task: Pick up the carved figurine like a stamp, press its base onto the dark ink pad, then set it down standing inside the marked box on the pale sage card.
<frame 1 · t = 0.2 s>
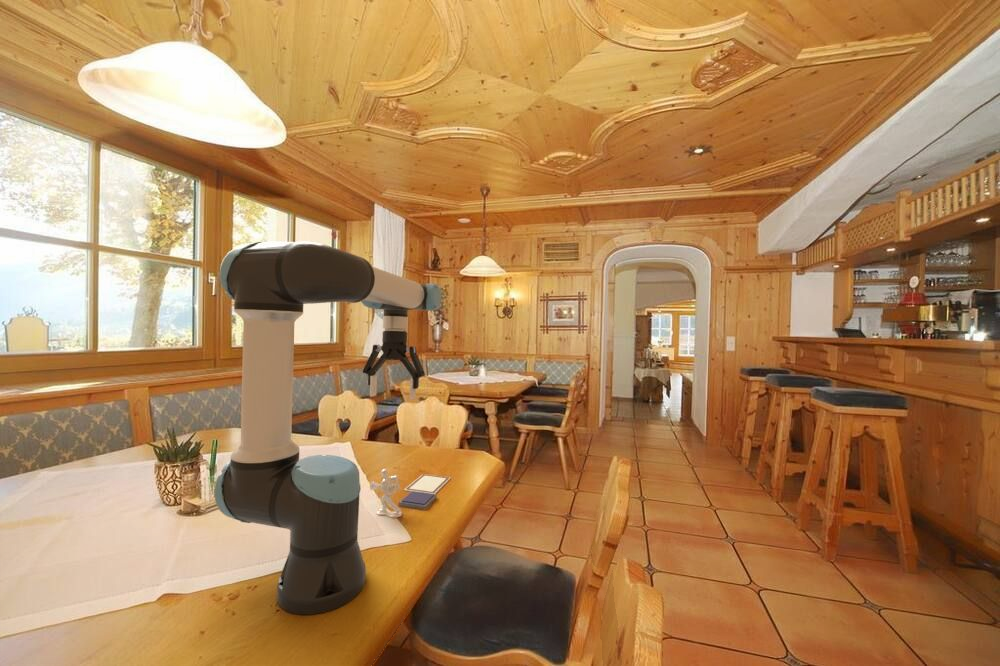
hand: (392, 397, 124), 27 cm above the table, fingers open, 13 cm apart
print sheet: (428, 484, 126), on the table
figurine: (385, 514, 104), on the table
ink pad: (418, 501, 112), on the table
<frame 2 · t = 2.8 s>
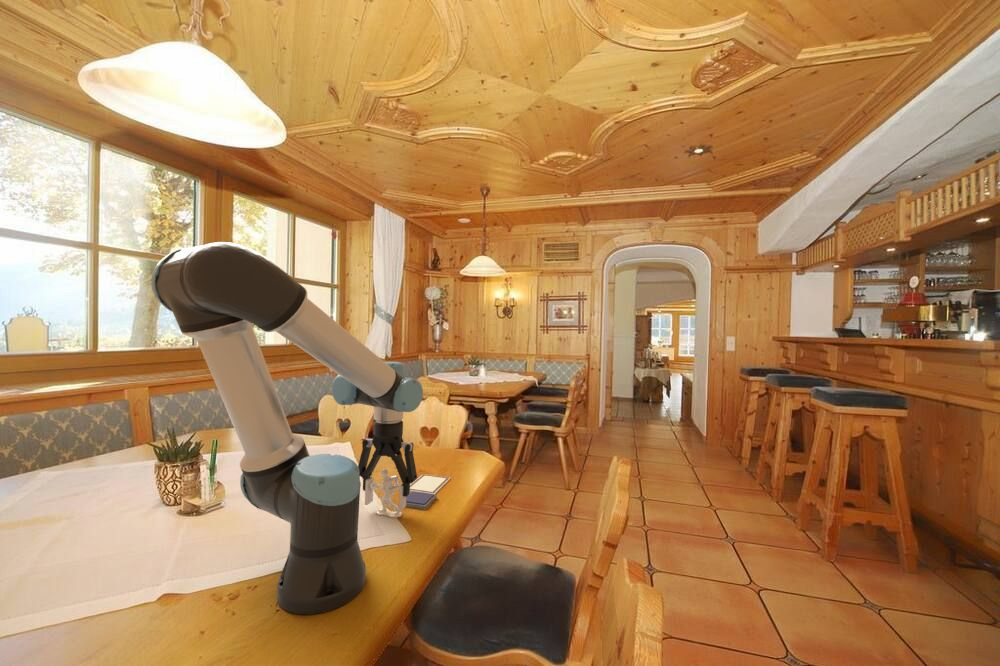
hand: (385, 505, 104), 2 cm above the table, fingers closed on figurine, 9 cm apart
figurine: (385, 514, 104), on the table, touching gripper
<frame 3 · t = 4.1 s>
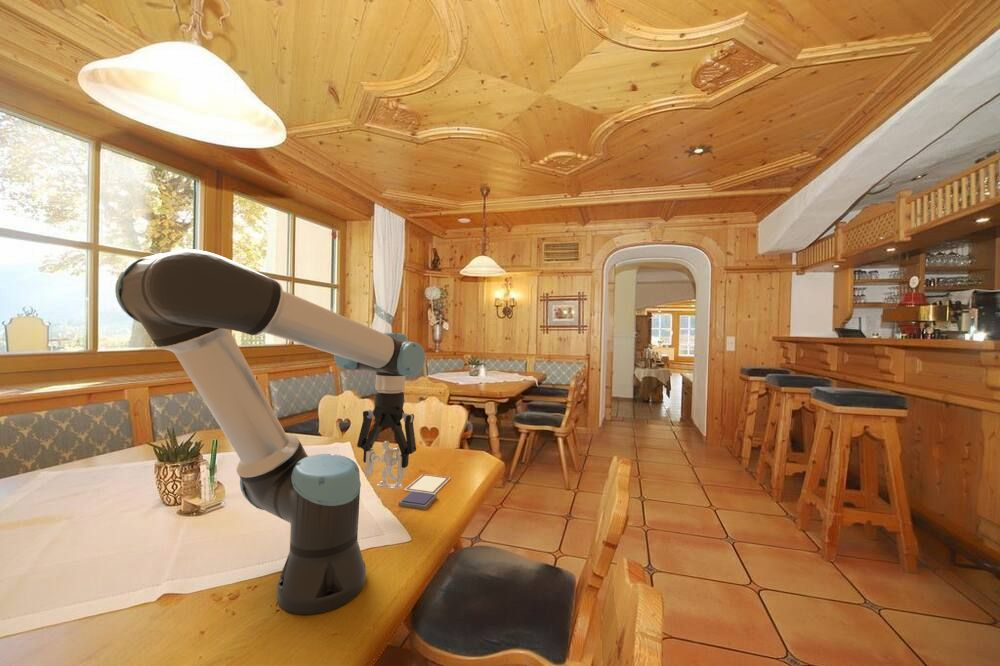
hand: (384, 477, 104), 10 cm above the table, fingers closed on figurine, 8 cm apart
figurine: (385, 487, 104), point 7 cm above the table, touching gripper
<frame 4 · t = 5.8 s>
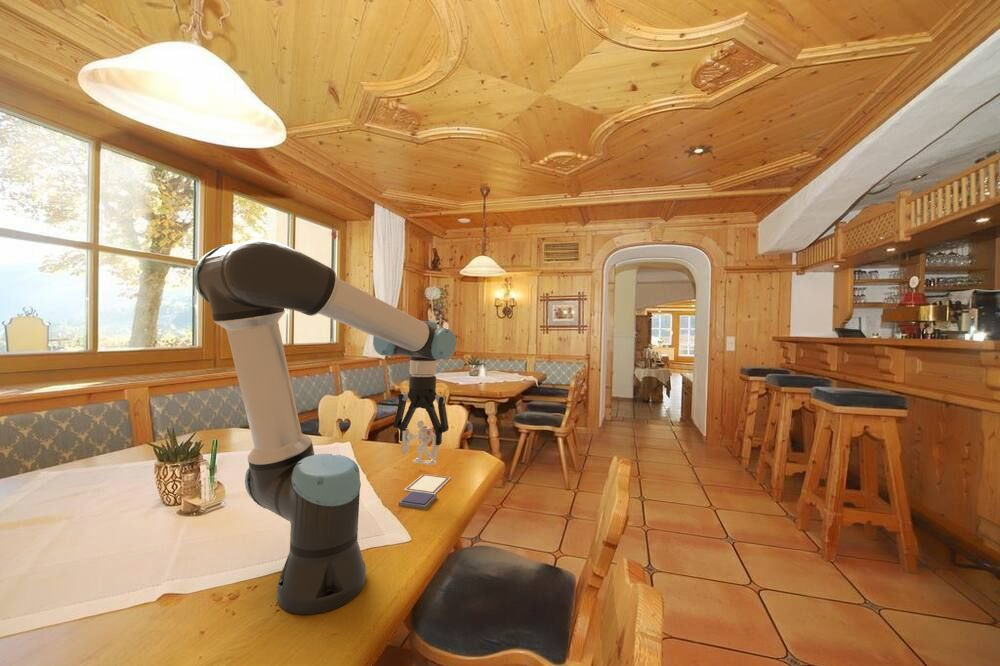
hand: (420, 454, 112), 14 cm above the table, fingers closed on figurine, 8 cm apart
figurine: (420, 463, 112), point 11 cm above the table, touching gripper
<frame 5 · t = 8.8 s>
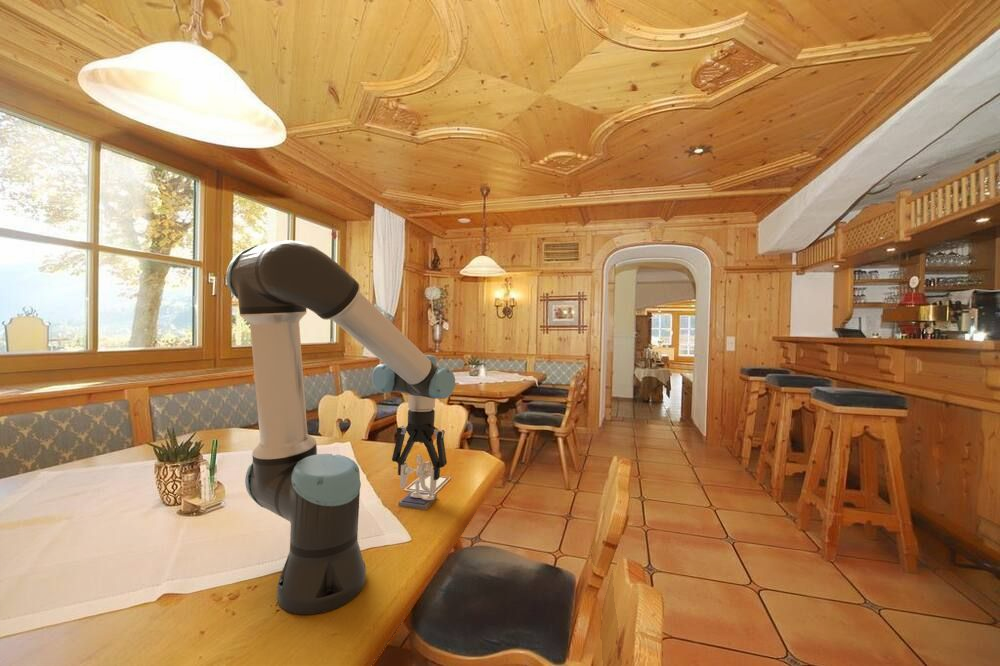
hand: (418, 488, 112), 4 cm above the table, fingers closed on figurine, 8 cm apart
figurine: (418, 497, 112), point 1 cm above the table, touching gripper
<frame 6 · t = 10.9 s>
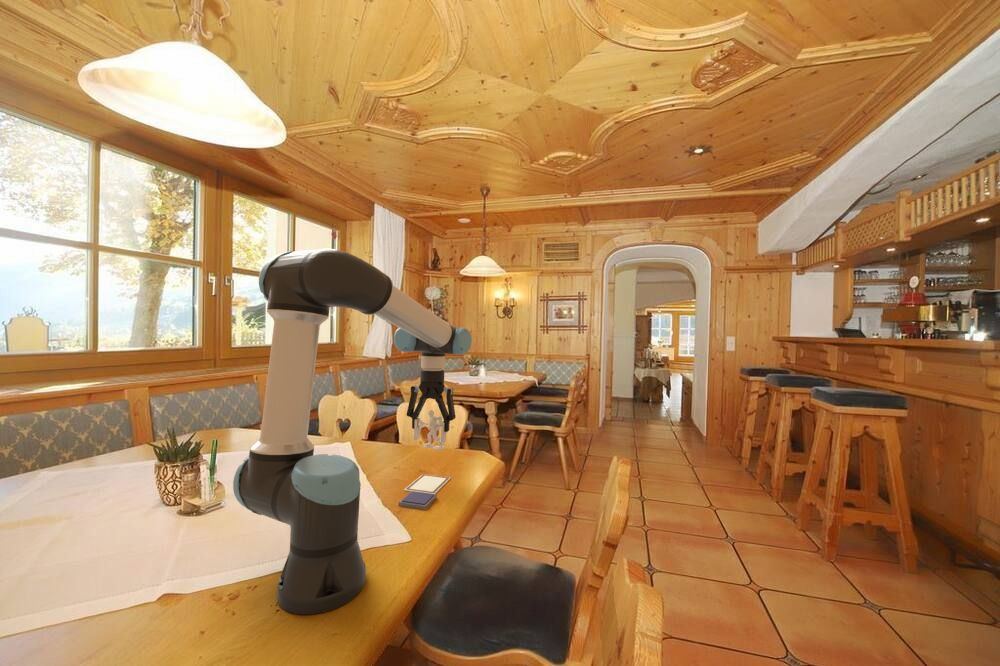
hand: (430, 440, 126), 14 cm above the table, fingers closed on figurine, 8 cm apart
figurine: (430, 448, 126), point 11 cm above the table, touching gripper
when the fingers open (3 cm above the table, at t = 13.1 s): figurine stays where it is, resting on print sheet.
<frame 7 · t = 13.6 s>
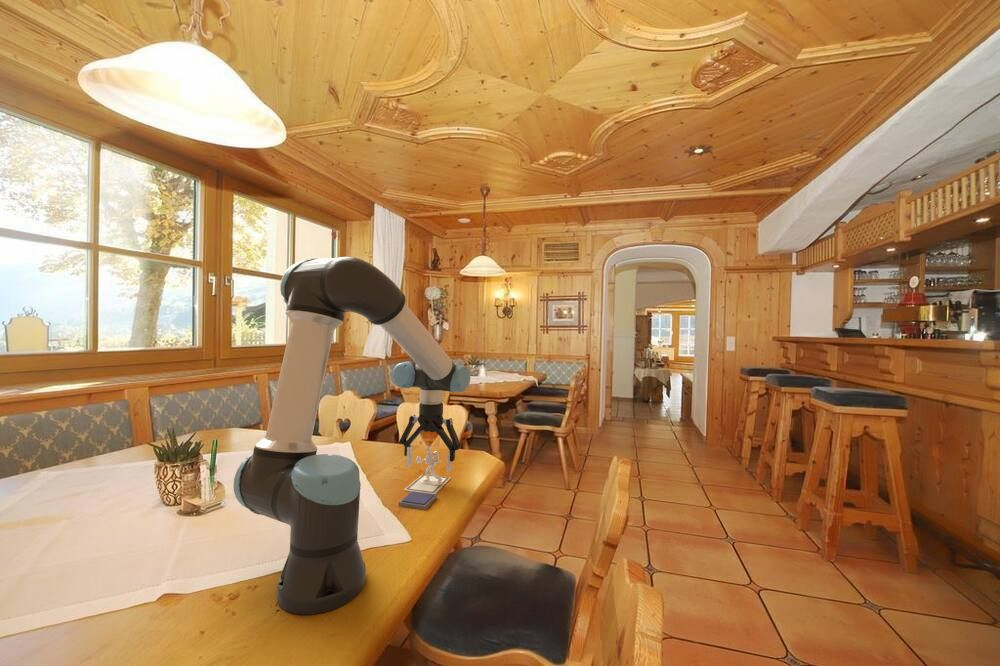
hand: (428, 468, 126), 5 cm above the table, fingers open, 13 cm apart
figurine: (428, 483, 126), resting on print sheet
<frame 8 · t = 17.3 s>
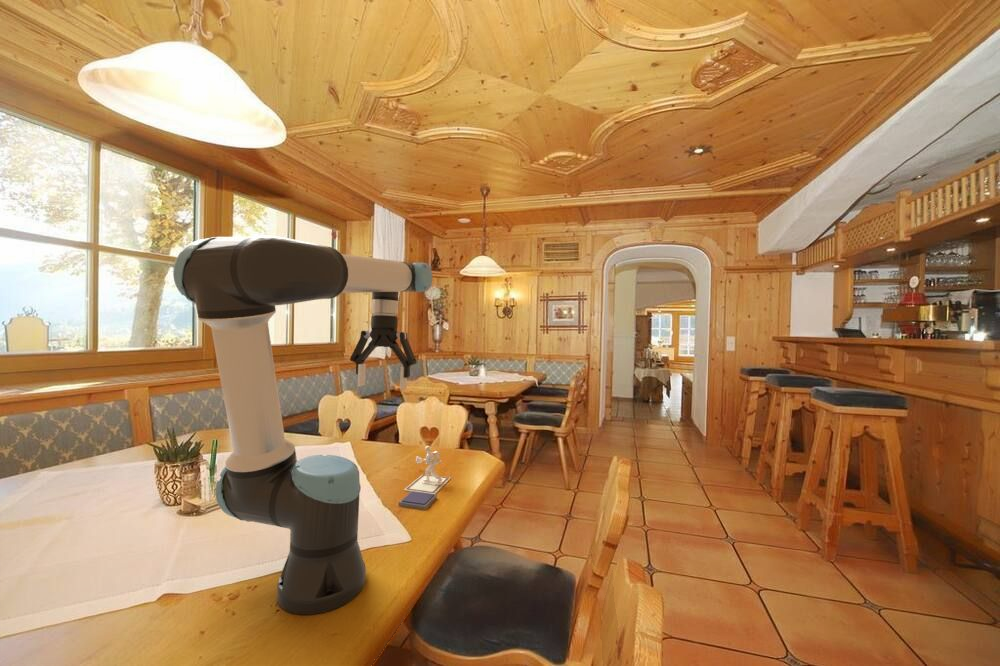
hand: (381, 387, 116), 32 cm above the table, fingers open, 13 cm apart
nothing on the table moved.
at the end: figurine inside the target area on the print sheet (0.1 cm from its centre), point 0.1 cm above the print sheet's base; figurine tilted 1°; the gripper is holding nothing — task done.
